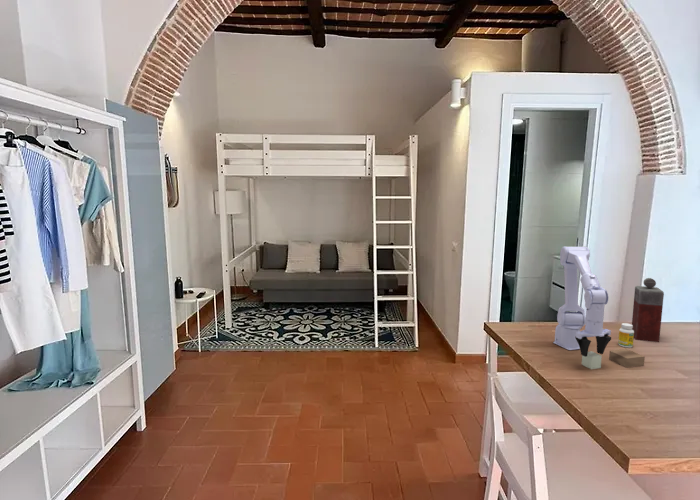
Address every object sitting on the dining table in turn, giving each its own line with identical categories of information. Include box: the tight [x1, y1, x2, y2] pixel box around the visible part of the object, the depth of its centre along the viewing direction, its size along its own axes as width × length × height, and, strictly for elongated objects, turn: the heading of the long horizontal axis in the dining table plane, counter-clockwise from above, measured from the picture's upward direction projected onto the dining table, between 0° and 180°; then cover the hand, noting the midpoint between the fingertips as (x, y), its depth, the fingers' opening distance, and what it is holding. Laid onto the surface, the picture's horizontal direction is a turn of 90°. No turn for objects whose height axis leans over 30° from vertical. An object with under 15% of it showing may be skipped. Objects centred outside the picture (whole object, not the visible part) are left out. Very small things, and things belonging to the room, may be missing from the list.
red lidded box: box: [631, 277, 665, 343], centre depth 183 cm, size 9×11×28 cm
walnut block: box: [608, 348, 646, 369], centre depth 156 cm, size 8×8×4 cm
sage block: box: [581, 350, 603, 370], centre depth 153 cm, size 4×4×5 cm
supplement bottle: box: [617, 322, 635, 349], centre depth 174 cm, size 5×5×10 cm
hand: (592, 354), depth 153 cm, fingers open, 7 cm apart
